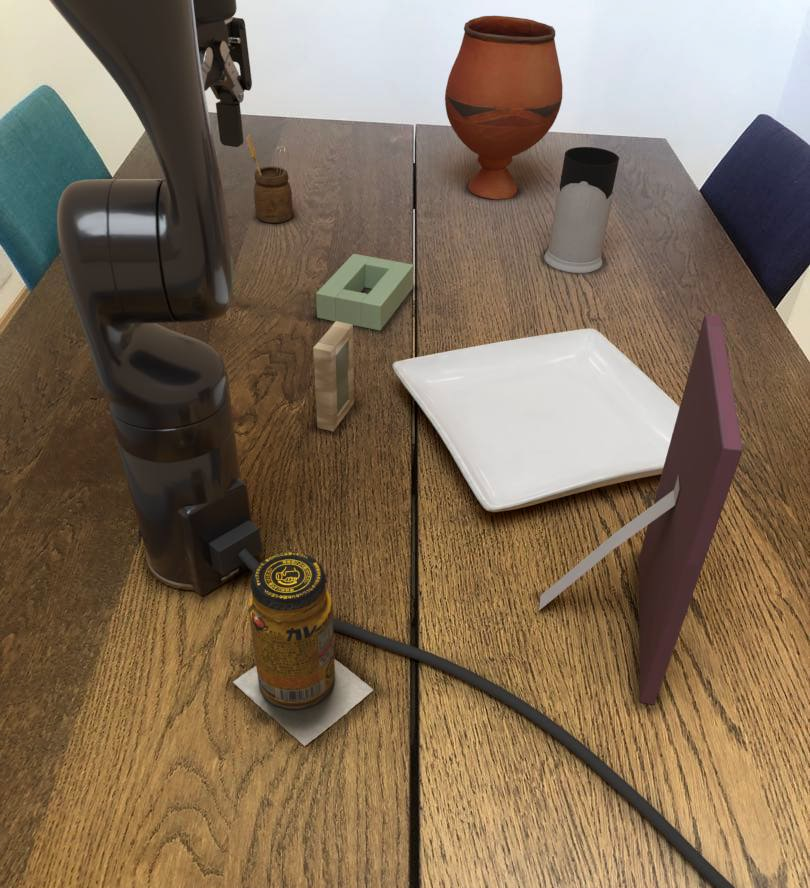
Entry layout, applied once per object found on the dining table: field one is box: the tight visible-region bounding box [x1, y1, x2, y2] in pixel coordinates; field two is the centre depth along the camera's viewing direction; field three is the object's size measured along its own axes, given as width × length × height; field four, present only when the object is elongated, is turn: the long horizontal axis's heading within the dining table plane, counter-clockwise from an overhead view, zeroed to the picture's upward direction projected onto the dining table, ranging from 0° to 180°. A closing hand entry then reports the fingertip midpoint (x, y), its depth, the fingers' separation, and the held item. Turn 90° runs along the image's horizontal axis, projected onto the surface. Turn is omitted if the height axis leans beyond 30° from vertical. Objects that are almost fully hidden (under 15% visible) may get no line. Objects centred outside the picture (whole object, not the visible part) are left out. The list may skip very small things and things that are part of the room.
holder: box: [315, 253, 415, 331], centre depth 110 cm, size 9×13×4 cm
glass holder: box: [543, 146, 620, 274], centre depth 120 cm, size 9×14×15 cm, turn 161°
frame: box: [312, 321, 355, 433], centre depth 89 cm, size 2×6×10 cm, turn 161°
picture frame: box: [538, 314, 744, 706], centre depth 63 cm, size 17×10×25 cm, turn 168°
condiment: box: [232, 551, 374, 747], centre depth 61 cm, size 7×8×12 cm
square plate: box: [391, 327, 680, 513], centre depth 90 cm, size 27×27×4 cm
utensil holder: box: [245, 134, 294, 224], centre depth 128 cm, size 6×6×12 cm
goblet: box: [444, 15, 564, 200], centre depth 134 cm, size 19×19×25 cm
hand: (210, 158), depth 77 cm, fingers open, 8 cm apart
